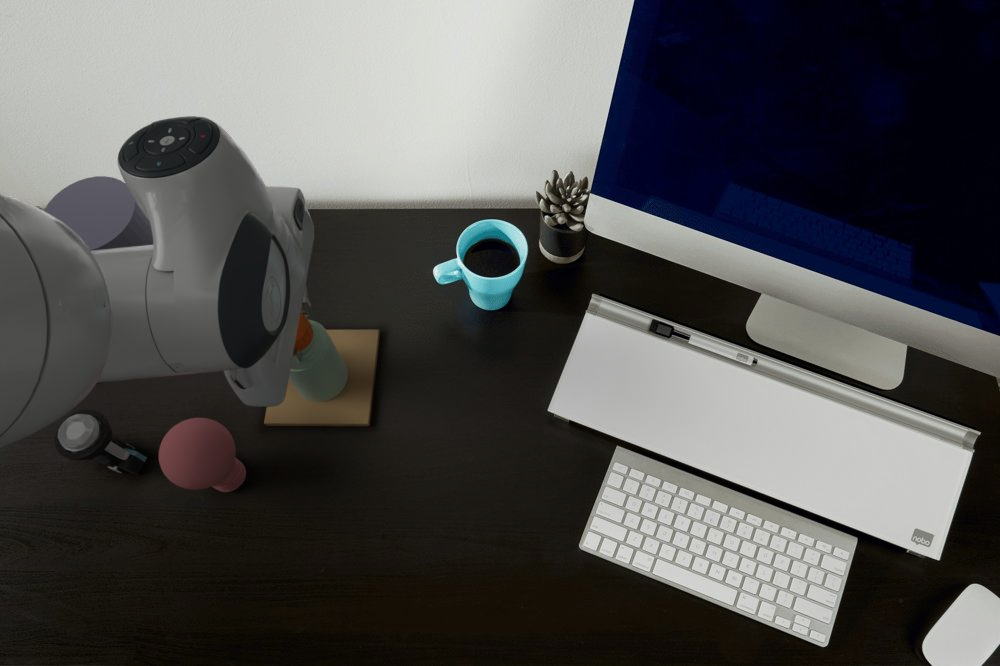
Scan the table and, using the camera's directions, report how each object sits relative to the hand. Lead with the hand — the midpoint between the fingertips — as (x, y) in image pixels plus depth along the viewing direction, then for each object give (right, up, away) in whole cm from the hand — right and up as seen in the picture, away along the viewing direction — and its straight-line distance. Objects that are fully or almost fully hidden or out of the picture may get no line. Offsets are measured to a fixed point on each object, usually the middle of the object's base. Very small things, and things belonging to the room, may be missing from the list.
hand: (298, 336), depth 76 cm
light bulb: (-9, -16, +4) cm, 18 cm away
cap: (0, +1, -3) cm, 3 cm away
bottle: (0, -5, +8) cm, 10 cm away
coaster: (+1, -5, +9) cm, 10 cm away
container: (-23, +6, +17) cm, 29 cm away
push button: (-22, -14, +6) cm, 26 cm away
